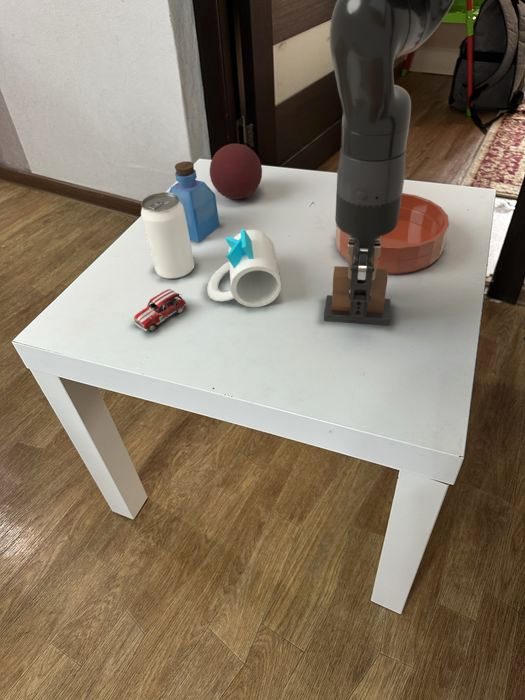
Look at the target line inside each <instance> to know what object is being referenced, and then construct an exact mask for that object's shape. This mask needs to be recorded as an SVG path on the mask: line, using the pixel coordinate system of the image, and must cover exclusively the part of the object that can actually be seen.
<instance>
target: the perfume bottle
mask: <svg viewBox="0 0 525 700" xmlns="http://www.w3.org/2000/svg"><path fill="white" fill-rule="evenodd" d="M194 166H195V165H194V162H192V161H188V160H187V161H180V162H177V163H176V164H175V165H174V169H175V173H174V174H175V181H176V182H177V183H175V184H174V185H172V186H171V187H170V189H169V191H168V192H169V193H174V194H176V195H177V196H178V197H179V201H180V202H181V204H182V205H183V208H184V212H185V217H186V222H187V227H188V232H189V237H190V241H192V242H196V243H200V242H201V241H203V240H204V239H205V238H207V237H208V236H209V235H210V234H211V233H213V232H214V231H216V230H217V229H218V228H219V227H221V225H220V219H219V212H218V204H217V198H216V197H217V196H216V193H215V192H214V191H213V190H212V189H211V188H210V187H209V186H208V184H207V183H206V182H205V181H202V180H198V179H197V177H198V176H197V171H196V169H195V167H194Z"/></svg>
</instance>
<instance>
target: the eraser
mask: <svg viewBox="0 0 525 700" xmlns="http://www.w3.org/2000/svg"><path fill="white" fill-rule="evenodd" d="M348 267H349V266H341V265H339V266H338V265H335V266H334V267H333V268H334V269H333V275H332V292H331V293H332V294H327V295H326V299H325V305H324V310H323V311H324V312H323V321H324V322H335V323H336V322H337V323H349V324H365V325H378V326H379V325H380V326H390V324H391V298H386V294H387V287H388V276H389V274H388V269H378V268H376V276H375V279H374V280H372V283H371V300H369V302H368V306H367V315H366V317H365V318H355V317H351V316H350V304H351V301H350V298H349V294H350V293H349V291H350V288H351V279H350V278H349V277H348Z"/></svg>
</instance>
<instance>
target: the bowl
mask: <svg viewBox="0 0 525 700" xmlns="http://www.w3.org/2000/svg"><path fill="white" fill-rule="evenodd" d="M335 225H336V226H335V227H336V229H335V245H336V248H337V250H338V253H339V254H340V255H341V256H342V257H343V258H344V259H345V260H346V261H347V262H349V256H348V242H349V234H346V233H344V232H343V231H342V230H340V229H339V228H338V226H337V224H336V223H335ZM449 226H450V222H449V216H448V214H447V213H446V212H445V210H444V209H443V208H442V206H440V205H438V204H437V203H435V202H434V201H433V200H430V199H428V198H424V197H422V196H419V195H416V194H410V193H405V192H402V199H401V206H400V213H399V221H398V224H397V226H396V228H395V229H394V230H393V231H392V232H390V233H388V234H386V235H384V236H381V240H380V243H381V247H380V255H379V257H378V258H377V266H376V268H378V269H388V275H401V274H402V275H403V274H408V273H414V272H417V271H419V270H423V269H425V268H427V267H428V266H430V265H432V264H433V263H435V261H438V260H439V258H440V257H441V255H442V253H443V251H444V249H445V245H446V242H447V241H446V240H447V237H448V231H449ZM353 263H354V261H353Z"/></svg>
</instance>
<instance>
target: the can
mask: <svg viewBox="0 0 525 700" xmlns="http://www.w3.org/2000/svg"><path fill="white" fill-rule="evenodd" d="M140 205H141V210H140V217H141V220H142V225H143V229H144V233H145V237H146V240H147V244H148V249H149V251H150V255H151V260H152V264H153V267H154V270H155V271H154V272H155V273H156V274H157V275H158V276H159V277H161V278H163V279H167V280H177V279H182V278H184V277H186V276H187V275H189V274H190V273H191V272H192V271H193V269H194V267H195V259H194V254H193V249H192V242H191V240H190V237H189V232H188V227H187V222H186V217H185V212H184V208H183V205H182V204H181V202H180V201H179V197H178V196H177V195H176V194H174V193H169V191H161V192H156V193H155V192H154V193H152V194H149V195H147V196H146V197H144V198H143V199H142V200H141V203H140Z"/></svg>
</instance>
